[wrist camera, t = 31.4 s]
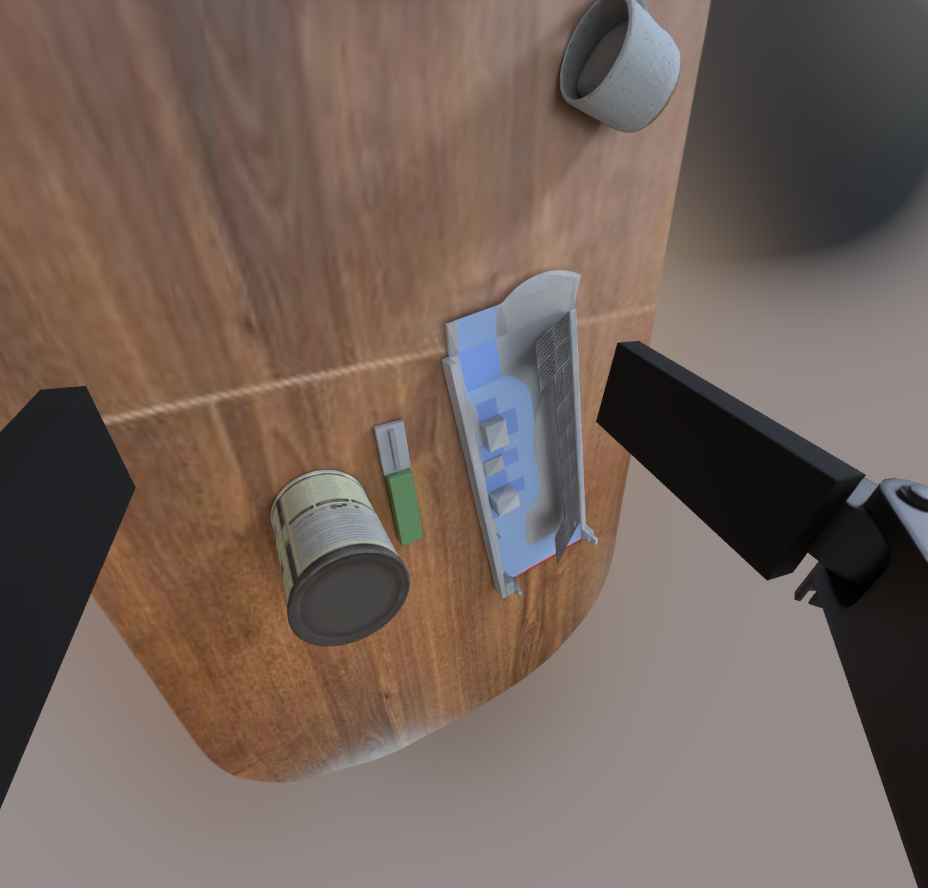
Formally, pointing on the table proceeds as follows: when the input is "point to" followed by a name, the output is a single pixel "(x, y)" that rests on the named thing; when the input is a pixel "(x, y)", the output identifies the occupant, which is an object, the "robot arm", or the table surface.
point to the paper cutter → (522, 423)
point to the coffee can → (335, 560)
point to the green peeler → (399, 479)
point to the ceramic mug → (620, 65)
